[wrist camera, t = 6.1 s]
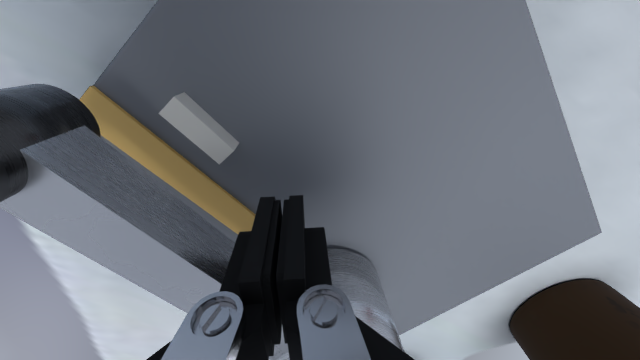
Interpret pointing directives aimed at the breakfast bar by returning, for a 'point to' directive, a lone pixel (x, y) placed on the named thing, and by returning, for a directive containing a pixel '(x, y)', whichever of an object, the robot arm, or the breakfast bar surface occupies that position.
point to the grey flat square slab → (359, 132)
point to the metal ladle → (132, 210)
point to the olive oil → (578, 323)
